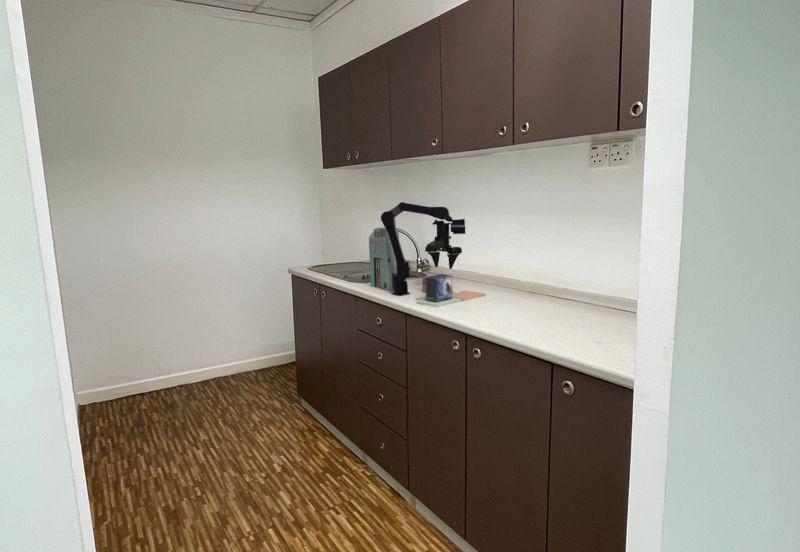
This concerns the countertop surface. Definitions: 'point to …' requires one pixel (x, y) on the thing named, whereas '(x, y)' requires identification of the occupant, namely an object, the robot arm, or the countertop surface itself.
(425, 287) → the brown wooden block
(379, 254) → the device
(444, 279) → the small box
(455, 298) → the green and salmon panel
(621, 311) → the countertop surface
